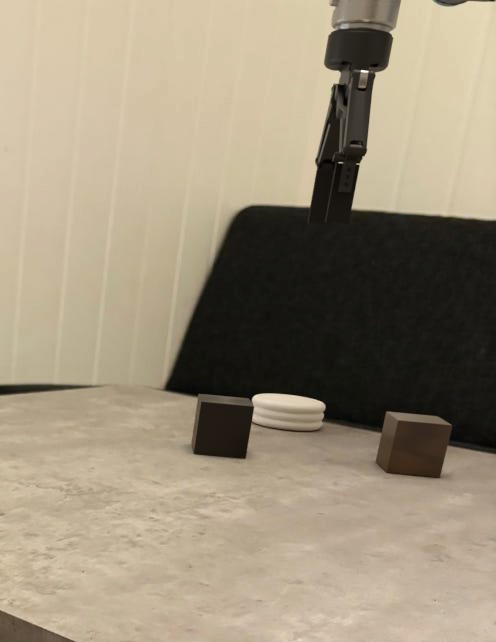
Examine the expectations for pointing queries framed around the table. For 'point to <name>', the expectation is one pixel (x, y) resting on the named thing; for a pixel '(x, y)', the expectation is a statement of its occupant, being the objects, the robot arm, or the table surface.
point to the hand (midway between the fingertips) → (326, 224)
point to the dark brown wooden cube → (413, 444)
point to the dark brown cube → (222, 426)
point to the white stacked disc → (288, 412)
